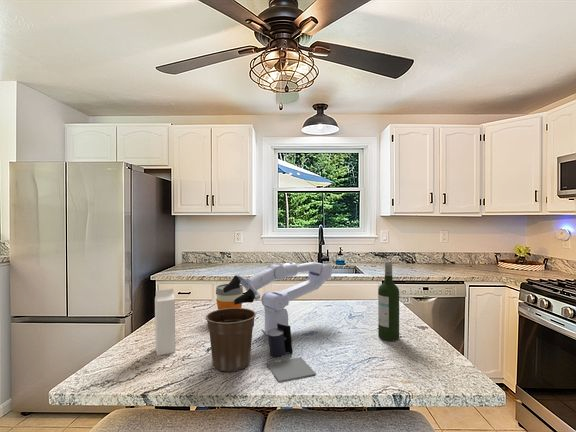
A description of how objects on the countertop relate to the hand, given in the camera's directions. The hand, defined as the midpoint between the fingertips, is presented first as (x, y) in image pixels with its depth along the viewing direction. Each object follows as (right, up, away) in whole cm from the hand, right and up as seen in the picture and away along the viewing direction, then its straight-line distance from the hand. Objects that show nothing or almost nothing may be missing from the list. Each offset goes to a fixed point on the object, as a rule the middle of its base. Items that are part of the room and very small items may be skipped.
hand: (229, 296), depth 122 cm
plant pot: (+4, -18, -16) cm, 24 cm away
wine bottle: (+62, -18, +5) cm, 64 cm away
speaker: (+19, -18, -10) cm, 28 cm away
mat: (+23, -18, -20) cm, 36 cm away
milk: (-22, -18, -6) cm, 29 cm away
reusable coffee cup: (-5, -18, +29) cm, 34 cm away
